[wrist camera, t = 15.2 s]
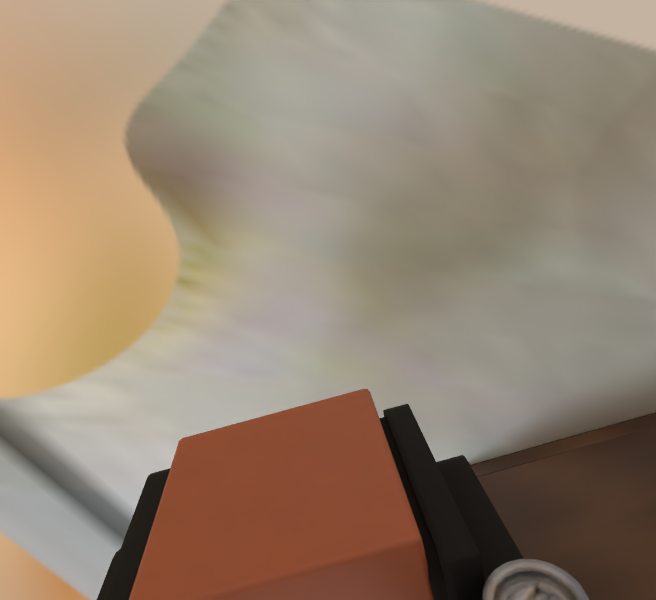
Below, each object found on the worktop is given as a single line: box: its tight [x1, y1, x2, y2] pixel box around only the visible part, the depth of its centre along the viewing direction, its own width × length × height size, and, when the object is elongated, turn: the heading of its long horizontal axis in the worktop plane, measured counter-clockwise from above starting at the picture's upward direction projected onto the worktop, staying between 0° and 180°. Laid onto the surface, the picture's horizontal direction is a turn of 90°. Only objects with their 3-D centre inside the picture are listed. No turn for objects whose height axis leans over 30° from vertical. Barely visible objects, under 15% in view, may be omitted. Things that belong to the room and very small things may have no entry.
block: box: [129, 389, 434, 600], centre depth 9 cm, size 4×4×4 cm
